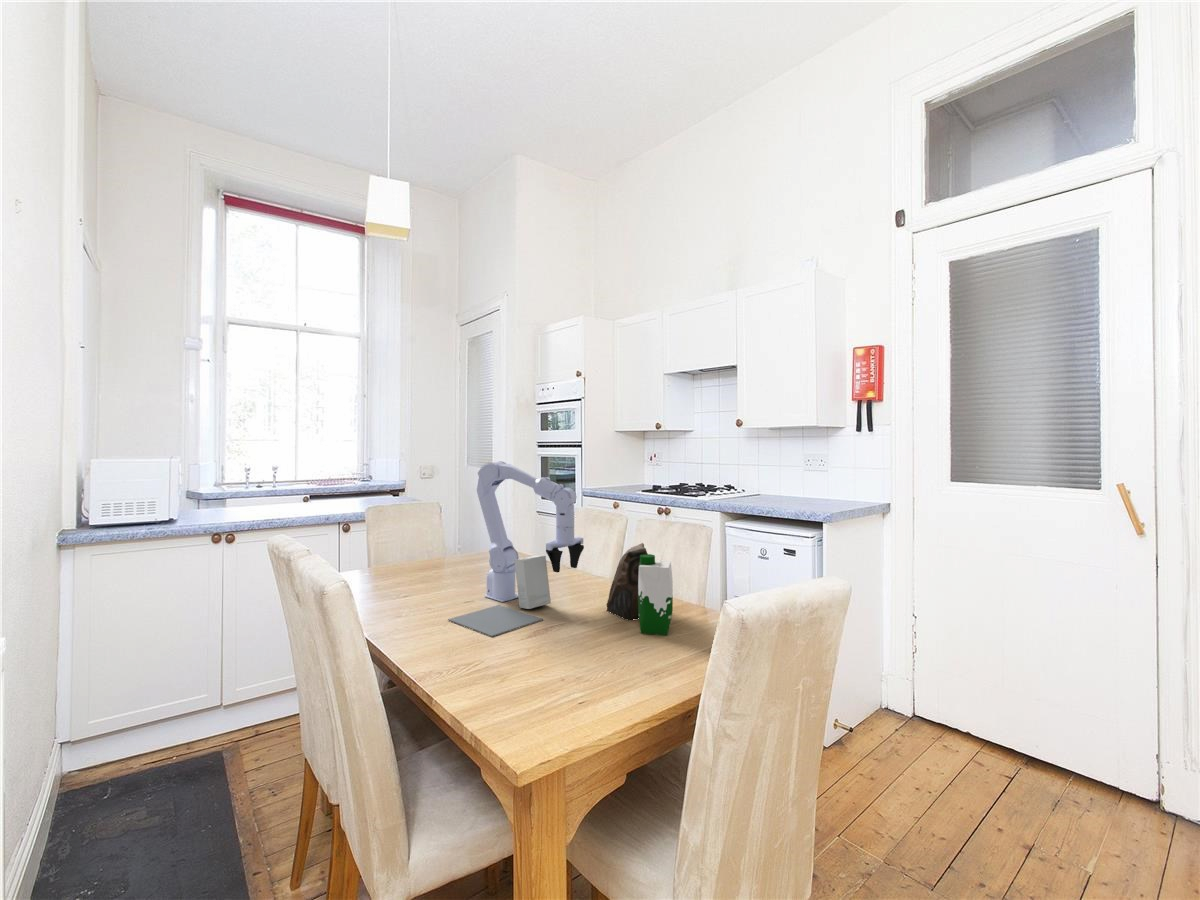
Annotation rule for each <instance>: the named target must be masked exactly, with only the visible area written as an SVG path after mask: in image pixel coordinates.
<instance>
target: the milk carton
mask: <svg viewBox="0 0 1200 900" xmlns="http://www.w3.org/2000/svg"><path fill="white" fill-rule="evenodd" d="M672 571H673V570H672V561H667V560H666V561H665V560H659V559H657V560H656V556H655V555H654V554H650V553H648V554H643V555H640V563H639V579H638V608H639V619H638V623H639V630H640V631H639V633H640V634H641V633H646V634H645V635H653V634H659V635H658V636H668V635H669V631H670V626H671V621H672V618H673V617H672V616H673V611H674V610H673V609H674V608H673V605H674V604H673V603H674V601H673V595H674V594H673V591H674V589H673V586H674V585H673V582H674V581H673V572H672Z"/></svg>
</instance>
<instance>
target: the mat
mask: <svg viewBox="0 0 1200 900" xmlns="http://www.w3.org/2000/svg"><path fill="white" fill-rule="evenodd" d="M448 620H449V621H448ZM541 620H542V621H543V620H544V618H542V617H539V616H536V615H534V614H533V615H532V614H529V613H526V612H523V611H521V610H520V611H519V610H516V609H513V608H512V607H508V606H504V605H500V604H497V605H494V606H490V607H486V608H483V609H479V610H476V611H472V612H469V613H465V614H461V615H459V616H455V617H452V618H447V621H448V622H450V621H451V623H453V622H454V623H453V624H456V623H457V624H456V625H458V624H459V625H458V626H461V625H462V626H461V627H464V626H465V627H464V628H466V627H467V628H466V629H469V628H470V630H471V629H473V630H472V631H474V630H475V631H474V632H477V631H478V632H477V633H479V632H481V633H480V634H482V633H483V635H485V634H486V635H485V636H487V635H489V636H488V637H490V636H491V637H490V638H493V637H492V636H494V637H496V635H497V636H499V635H498V634H500V635H502V634H501V633H503V634H505V633H504V632H506V633H508V632H507V631H509V632H511V631H510V630H512V631H514V630H513V629H515V630H517V629H516V628H518V629H520V628H519V627H521V628H523V627H522V626H524V627H526V626H525V625H527V626H529V624H530V625H533V624H535V622H536V623H539V622H542V621H541ZM538 621H539V622H538ZM532 623H533V624H532Z"/></svg>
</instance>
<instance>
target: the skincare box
mask: <svg viewBox="0 0 1200 900" xmlns="http://www.w3.org/2000/svg"><path fill="white" fill-rule="evenodd" d="M514 562H515V581H516V587H517V594H518V604H519V605H518V606H519V608H520V609H526V610H531V609H534V608H539V607H542V606H546V605H550V604H551V603H552V600H551V598H552V597H551V592H550V584H549V583H550V582H549V575H548V574H549V573H548V567H547V556H546V555H532V556H528V557H523V558H518V559H517V560H514Z"/></svg>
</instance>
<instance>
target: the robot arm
mask: <svg viewBox="0 0 1200 900" xmlns="http://www.w3.org/2000/svg"><path fill="white" fill-rule="evenodd" d="M477 475H478V480H477V487H476V493H477V497H478V502H479V504H480V509H481V511H482V515H483V519H484V522H485V526H486V529H487V534H488V536H489V537H488V538H489V540H490V545H489V549H488V552H489V560H488V561H489V566H490V568H491V569H490V570H489V571H488V572H487V575H486V594H484V598H487V599H491V600H493V601H494V600H495V601H497V602H502V603H504V602H507V601H511V600H514V599H519V597H518V593H516V587H517V583H516V571H515V562H514V560H517V559H520V558H519V553H518V551H517V550H516V548H515V547H514V544H513V542H512V541H511V540H510V539H509V538H508V535H507V531H506V529H505V525H504V521H503V518H502V514H501V511H500V507H499V504H498V503H499V502H498V500H497V497H496V491H497V489H498V487H499V486H500V484H502V483H503V482H504V481H506V480H513V481H516V482H518V483H519V484H523V485H525V486H527V487H529V488H532V489H533V491H534V493H535V495H538V496H540V497H541V498H543V499H546V500H548V501H551V502H553V504H554V505H555V509H556V510H555V540H553V541H551V542H550V541H549V542H546V543H545V553H546V555H547V557H548V559H549V561H550V563H551V567H552V572H553V573H558V574H559V573H560V572H561V571H560V570H561V559H562V555H563V550H560V549H561V548H565V547H566V548H568V552H569V564H570V568H573V569H577V568H578V564H579V560H580V556H581V554H582V553H583V551H584V548H585V545H584V537H581V536H580V537H578V536H577V537H575V503H576V501H577V493H576V491H575V490H574V489H573V488H571V487H569V486H567V487H564V484H562V483H560V484H558V483H556V482H554V481H552V480H551V478H550V477H549V476H548V477H543V476H542V477H540V478H536V477H535V476H533V475H531V474H529V473H527V472H525V471H524V470H522V469H520V468H518V467H516V466H514V465H512V464H511V463H506V462H505V461H501V460H500V461H495V462H488V461H487V462H485V463H484V464H482V465H481V467H480V469H478V471H477Z"/></svg>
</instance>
